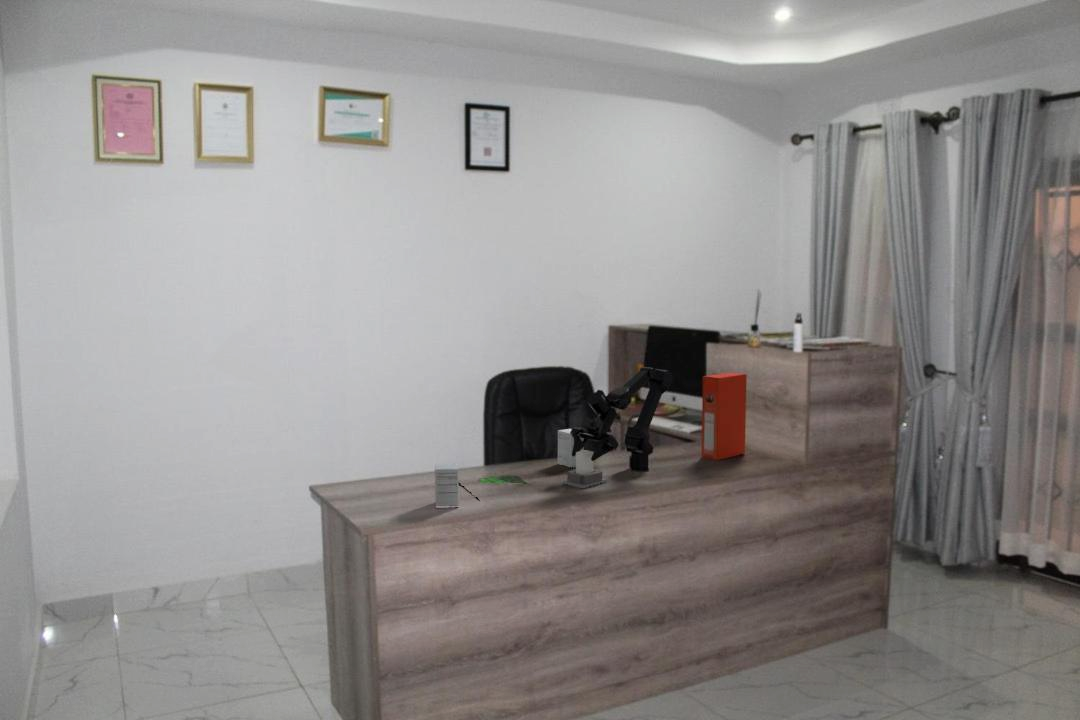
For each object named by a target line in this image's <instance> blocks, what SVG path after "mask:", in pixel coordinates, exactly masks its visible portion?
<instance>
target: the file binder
mask: <svg viewBox="0 0 1080 720" xmlns="http://www.w3.org/2000/svg"><path fill="white" fill-rule="evenodd" d="M701 403H702V406H701V412H702V413H701V421H702V422H701V458H703V459H707V460H708V459H709V460H714V461H720V460H725V459H727V458H732V457H735V456H740V454H741V455H744V454H745V453H746V425H747V424H746V417H747V416H746V415H747V414H746V412H747V374H746V373H740V372H739V373H738V372H725V373H717V374H713V375H712V374H711V375H704V376H702V401H701Z"/></svg>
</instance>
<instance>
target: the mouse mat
mask: <svg viewBox="0 0 1080 720" xmlns="http://www.w3.org/2000/svg"><path fill="white" fill-rule="evenodd" d="M478 479H479V480H478V482H480V483H481V482H483V483H508V482H510V483H522V484H528V483H527V482H526V481H524V480H523V479H522V478H520V476H517V475H504V476H494V477H483V478H478ZM528 485H529V486H531V485H530V484H528Z"/></svg>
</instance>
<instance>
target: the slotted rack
mask: <svg viewBox="0 0 1080 720" xmlns="http://www.w3.org/2000/svg"><path fill="white" fill-rule="evenodd" d="M605 482H606V483H607V479H606V478H605V479H604V478H603V471H601V470H600V469H595V468H593V473H590V474H586V475H582V474H578V473H576V469H573V470H570V471H569V470H568V471H567V479H565V480H563V482H562V483H564V484H563V485H566V484H568V485H567V486H570V485H572V486H571V487H574V486H575V487H574V488H577V487H579V488H578V489H581V488H583V489H586V487H587V488H590V487H589V486H591V487H594V486H593V485H595V486H598V485H601V484H600V483H602V484H605ZM597 484H598V485H597Z"/></svg>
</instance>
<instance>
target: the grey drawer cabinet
mask: <svg viewBox="0 0 1080 720" xmlns="http://www.w3.org/2000/svg"><path fill="white" fill-rule="evenodd" d="M459 481H460V480H459V463H435V465H434V491H435V493H434V494H435V507H436V506H458V505H459V506H460V496H459V495H460V490H459V489H460V487H459V486H460V484H459Z"/></svg>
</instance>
